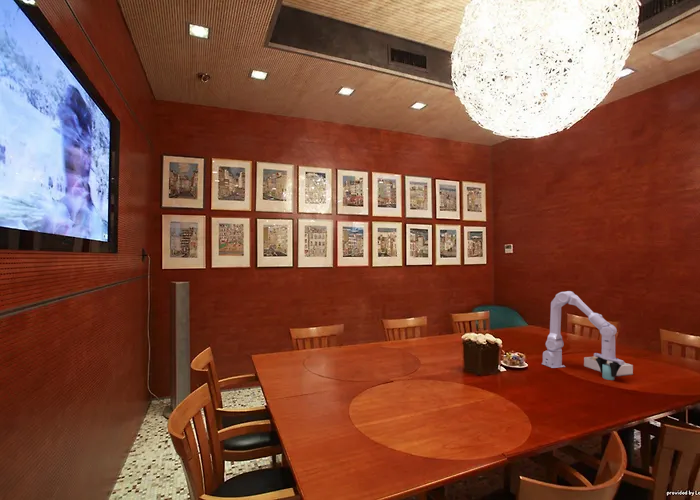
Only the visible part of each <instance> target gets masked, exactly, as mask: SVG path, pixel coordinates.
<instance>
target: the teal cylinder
mask: <svg viewBox="0 0 700 500" xmlns="http://www.w3.org/2000/svg"><path fill="white" fill-rule="evenodd" d="M601 374H602V375H601V376H602V377H601V378H603V379H604V380H607V381H614V380H615V378H616V377H612V376H611V367H610V364H607V363H603V364H602V373H601Z"/></svg>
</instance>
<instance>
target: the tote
mask: <svg viewBox="0 0 700 500" xmlns="http://www.w3.org/2000/svg"><path fill="white" fill-rule="evenodd" d="M592 357H593V356H584V357H583V366H584V368H585V367H586V368H587V369H592V370H594V371H597V372H600V373H601V370H600V367H599V365H598V363H597V361H595V360H592ZM609 363H613V362H611V361H608V364H609ZM633 372H634V365H633V364H630V363H626V362H624V365H621V367H620V368H619V370H618V372H617V375H616V377H622V376H632V375H634V373H633Z"/></svg>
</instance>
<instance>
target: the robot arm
mask: <svg viewBox="0 0 700 500" xmlns="http://www.w3.org/2000/svg"><path fill="white" fill-rule="evenodd" d="M566 304H568V305H572V306H575V307H577V308H578V309H579V310H580V311H581V312H582V313H584V314H585V315H586V316H587V317H588V318H587V319H588V321H589V322H590V323H591V324H592V325H593V326H594V327H595V328H597V329H598V330H599V334H600V335H601V353H598V352H594V353H593V357H598V358H597V359H596V361H597V363H598V365H599V367H600V370H601V372H600V373H601V374H602V364H603V363H607V360H608V361H611V362H613V363H609V364H610V367H611V376H612V377H615V378H616V377H617V376H616V375H617V372H618V370H619V368H620V367H621V365H624V363H625V361H624V360H622V359H619V358H617V357H616V334H617V331H618V330H617V327H616V326H615V325H614V324H611V323H610V322H608V321H607V320H606V319H605V318H604V317H603V315H602V314H600V313H598V312H594V311H593V310H592V309H591V308H590V307H589V306H588V305H587V304H586V303H585V302H583V300H582V299H581V298H580V297H579V296H578V295H577V294H575V293H574V291H571V290H567V291H560V292H558V293H556V294H555V297H554V298H553V299H552V300H551V302H550V316H549V317H550V318H549V319H550V320H549V334H548V335H547V339H546V341H545V348H546V349H547V350H545V351H543V352H542V362H541V365H544V366H546V367H549V368H551V369H556V368H558V369H559V368H566V366H565V365H564V364H563V355H562V354H563V353H562V352H563V350H562V348H563V347H564V340H563V336H562V333H561V332H562V331H561V327H562V326H561V325H562V323H561V322H562V307H564V306H565V305H566Z"/></svg>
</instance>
